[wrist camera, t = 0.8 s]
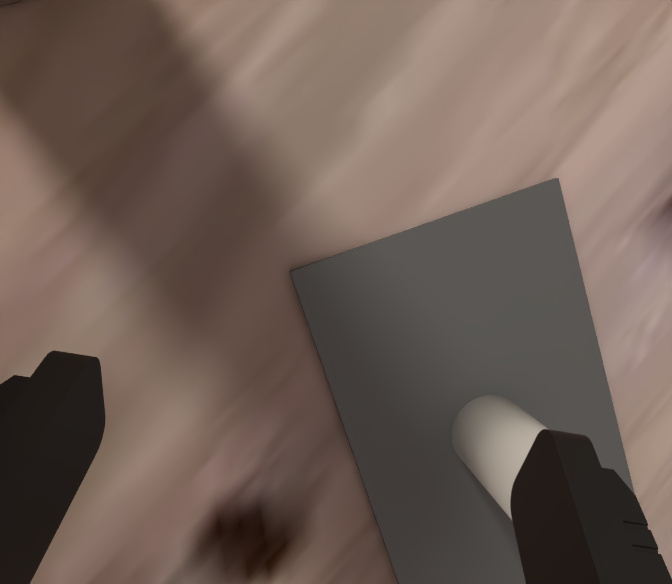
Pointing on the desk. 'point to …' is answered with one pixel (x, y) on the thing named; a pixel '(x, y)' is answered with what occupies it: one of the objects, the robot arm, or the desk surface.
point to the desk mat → (457, 369)
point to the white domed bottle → (494, 442)
